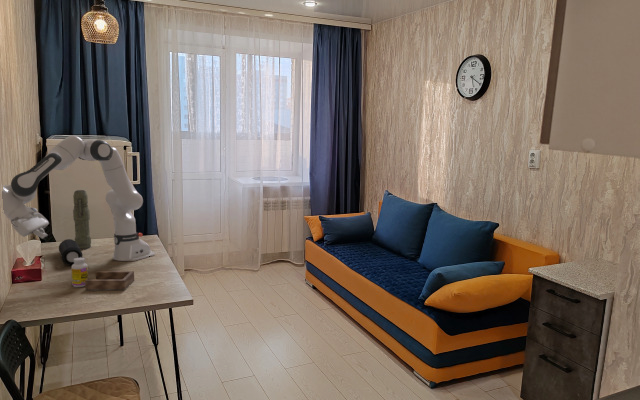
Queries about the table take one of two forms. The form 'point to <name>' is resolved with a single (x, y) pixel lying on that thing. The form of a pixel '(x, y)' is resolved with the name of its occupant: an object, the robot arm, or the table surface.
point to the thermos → (81, 219)
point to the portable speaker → (69, 251)
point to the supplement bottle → (79, 272)
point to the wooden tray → (110, 280)
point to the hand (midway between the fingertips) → (45, 237)
